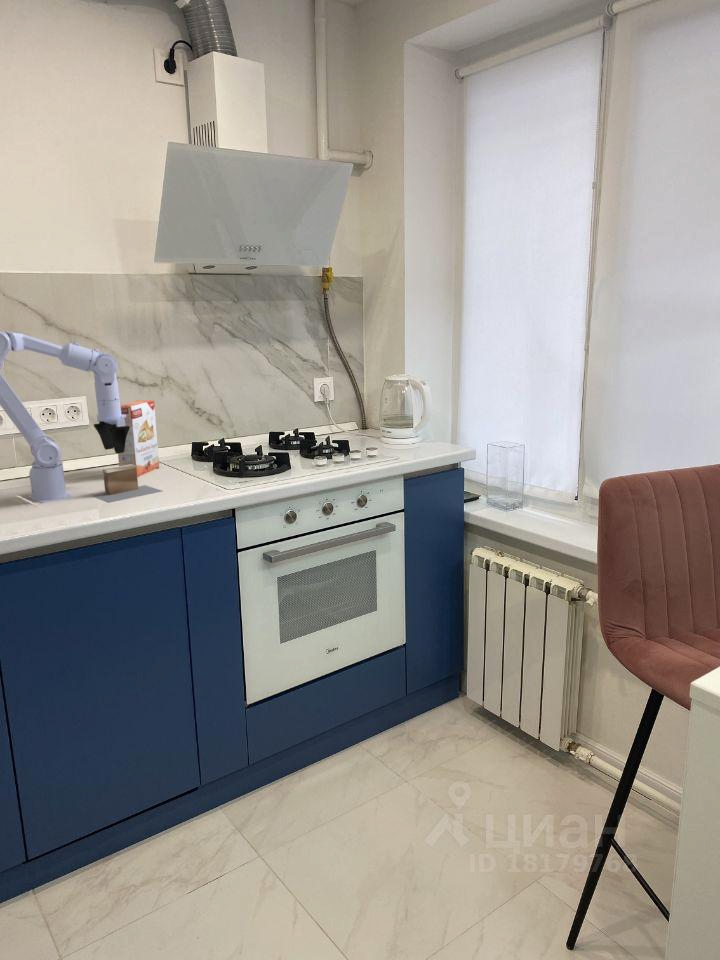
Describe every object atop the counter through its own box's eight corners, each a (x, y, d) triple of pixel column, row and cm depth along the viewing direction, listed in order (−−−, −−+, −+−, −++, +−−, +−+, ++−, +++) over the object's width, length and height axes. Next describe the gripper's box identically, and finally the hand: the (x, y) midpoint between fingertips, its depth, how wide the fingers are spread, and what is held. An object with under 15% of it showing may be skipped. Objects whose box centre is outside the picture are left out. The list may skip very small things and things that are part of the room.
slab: (105, 493, 187) (102, 469, 186) (134, 487, 193) (131, 464, 191) (109, 495, 186) (107, 470, 184) (138, 489, 191) (136, 465, 189)
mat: (91, 497, 186) (91, 495, 185) (145, 486, 196) (145, 485, 195) (108, 504, 178) (108, 502, 178) (163, 492, 189) (163, 491, 188)
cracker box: (138, 478, 205) (131, 405, 200) (119, 478, 207) (111, 405, 202) (161, 468, 219) (154, 399, 214) (143, 467, 220) (136, 399, 215)
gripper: (133, 400, 185) (139, 452, 188) (112, 396, 196) (118, 445, 199) (106, 403, 180) (113, 456, 183) (86, 399, 191) (93, 449, 194)
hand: (114, 450), depth 191 cm, fingers open, 7 cm apart
